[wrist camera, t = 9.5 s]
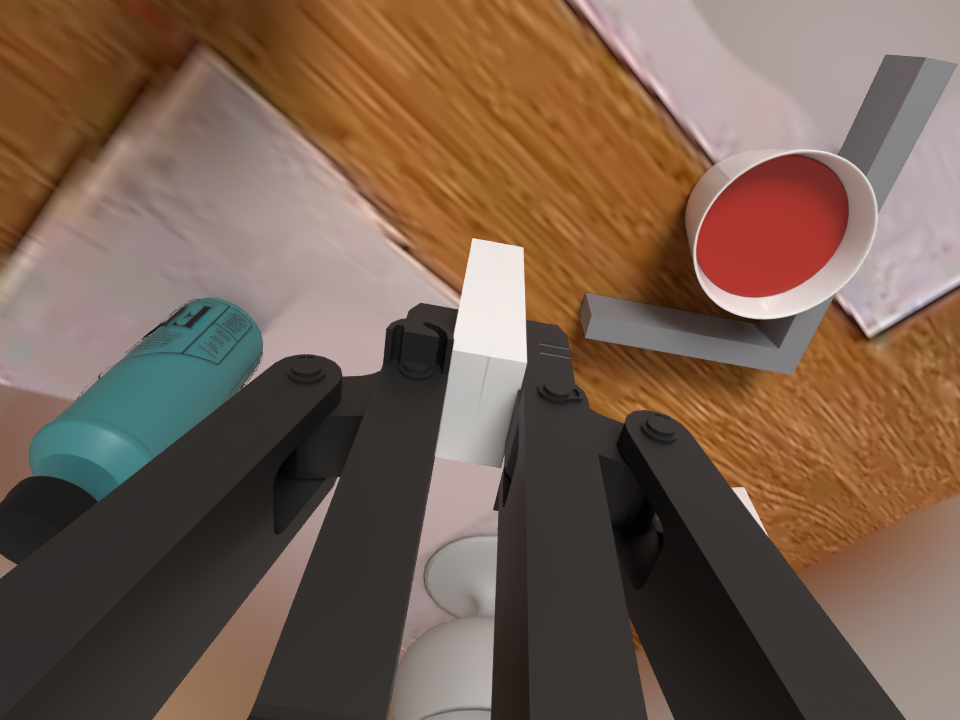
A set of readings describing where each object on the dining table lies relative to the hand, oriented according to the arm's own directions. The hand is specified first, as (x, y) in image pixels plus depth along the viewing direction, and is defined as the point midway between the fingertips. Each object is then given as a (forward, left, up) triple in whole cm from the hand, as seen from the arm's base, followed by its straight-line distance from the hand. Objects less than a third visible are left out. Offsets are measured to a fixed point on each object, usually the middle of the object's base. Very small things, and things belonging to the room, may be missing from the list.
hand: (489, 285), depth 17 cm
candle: (0, +15, -20) cm, 25 cm away
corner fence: (0, +14, -20) cm, 24 cm away
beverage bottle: (+15, -17, -20) cm, 30 cm away
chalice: (+37, +6, -20) cm, 43 cm away
